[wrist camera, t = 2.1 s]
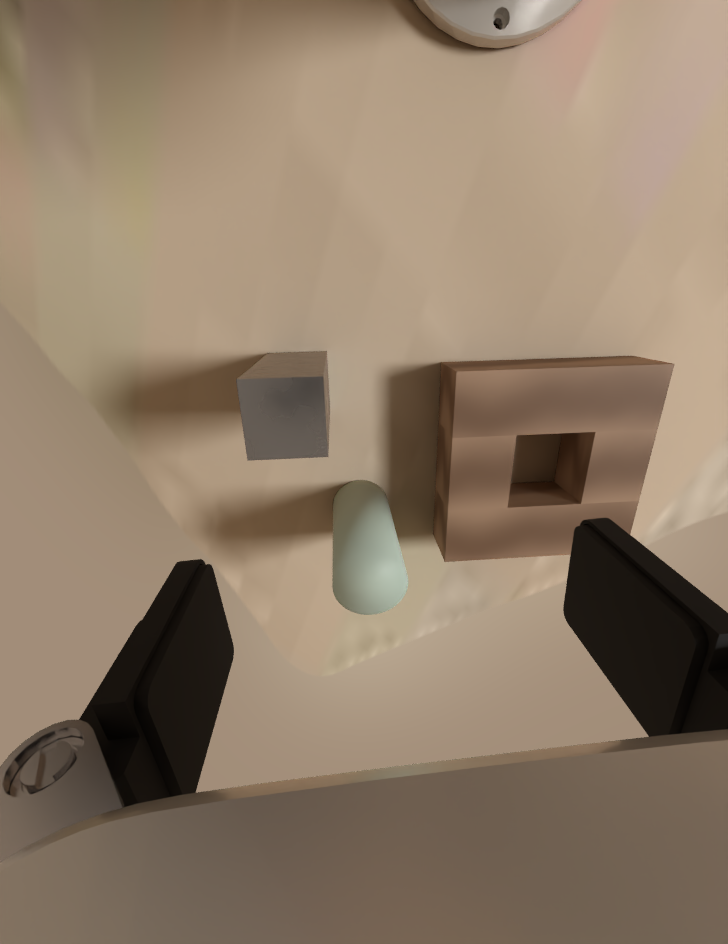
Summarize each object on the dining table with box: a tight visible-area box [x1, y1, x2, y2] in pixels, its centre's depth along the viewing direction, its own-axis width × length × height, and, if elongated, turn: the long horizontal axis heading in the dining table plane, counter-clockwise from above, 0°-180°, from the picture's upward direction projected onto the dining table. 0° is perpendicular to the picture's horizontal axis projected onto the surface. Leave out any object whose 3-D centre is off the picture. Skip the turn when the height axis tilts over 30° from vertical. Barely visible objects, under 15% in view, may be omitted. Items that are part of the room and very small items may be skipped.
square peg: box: [236, 351, 330, 460], centre depth 25 cm, size 4×4×10 cm
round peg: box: [333, 480, 408, 615], centre depth 29 cm, size 4×4×10 cm
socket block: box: [433, 356, 674, 562], centre depth 30 cm, size 14×14×4 cm
